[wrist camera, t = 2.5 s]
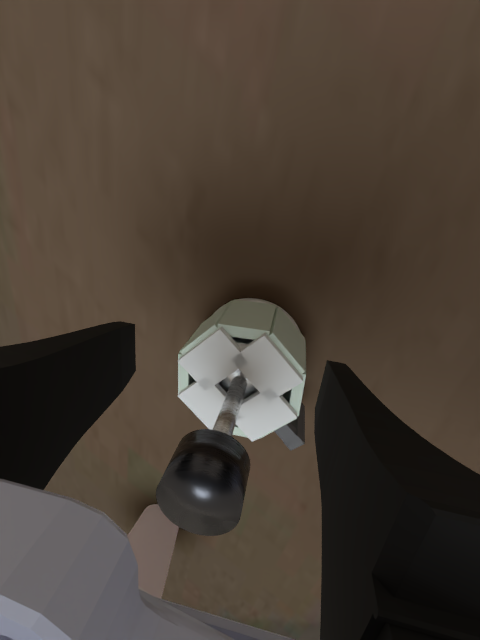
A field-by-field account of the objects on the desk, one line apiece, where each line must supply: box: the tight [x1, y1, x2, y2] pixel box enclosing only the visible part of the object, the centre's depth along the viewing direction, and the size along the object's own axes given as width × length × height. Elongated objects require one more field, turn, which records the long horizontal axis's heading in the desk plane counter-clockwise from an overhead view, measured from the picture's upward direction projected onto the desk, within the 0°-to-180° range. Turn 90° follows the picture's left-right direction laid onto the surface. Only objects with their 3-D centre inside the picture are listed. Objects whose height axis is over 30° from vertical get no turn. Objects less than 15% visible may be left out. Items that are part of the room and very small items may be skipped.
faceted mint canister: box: [178, 298, 306, 450], centre depth 20 cm, size 9×7×5 cm
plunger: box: [156, 341, 283, 536], centre depth 14 cm, size 5×5×8 cm
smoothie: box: [127, 504, 179, 599], centre depth 24 cm, size 6×6×14 cm
